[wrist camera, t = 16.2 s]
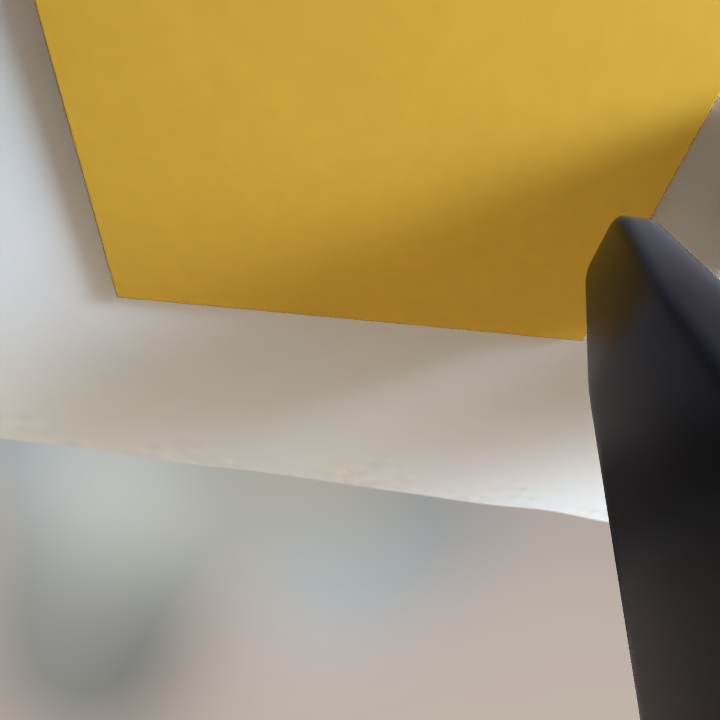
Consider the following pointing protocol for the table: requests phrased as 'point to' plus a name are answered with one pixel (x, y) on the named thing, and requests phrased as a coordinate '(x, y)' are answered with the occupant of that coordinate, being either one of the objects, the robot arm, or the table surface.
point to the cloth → (378, 147)
